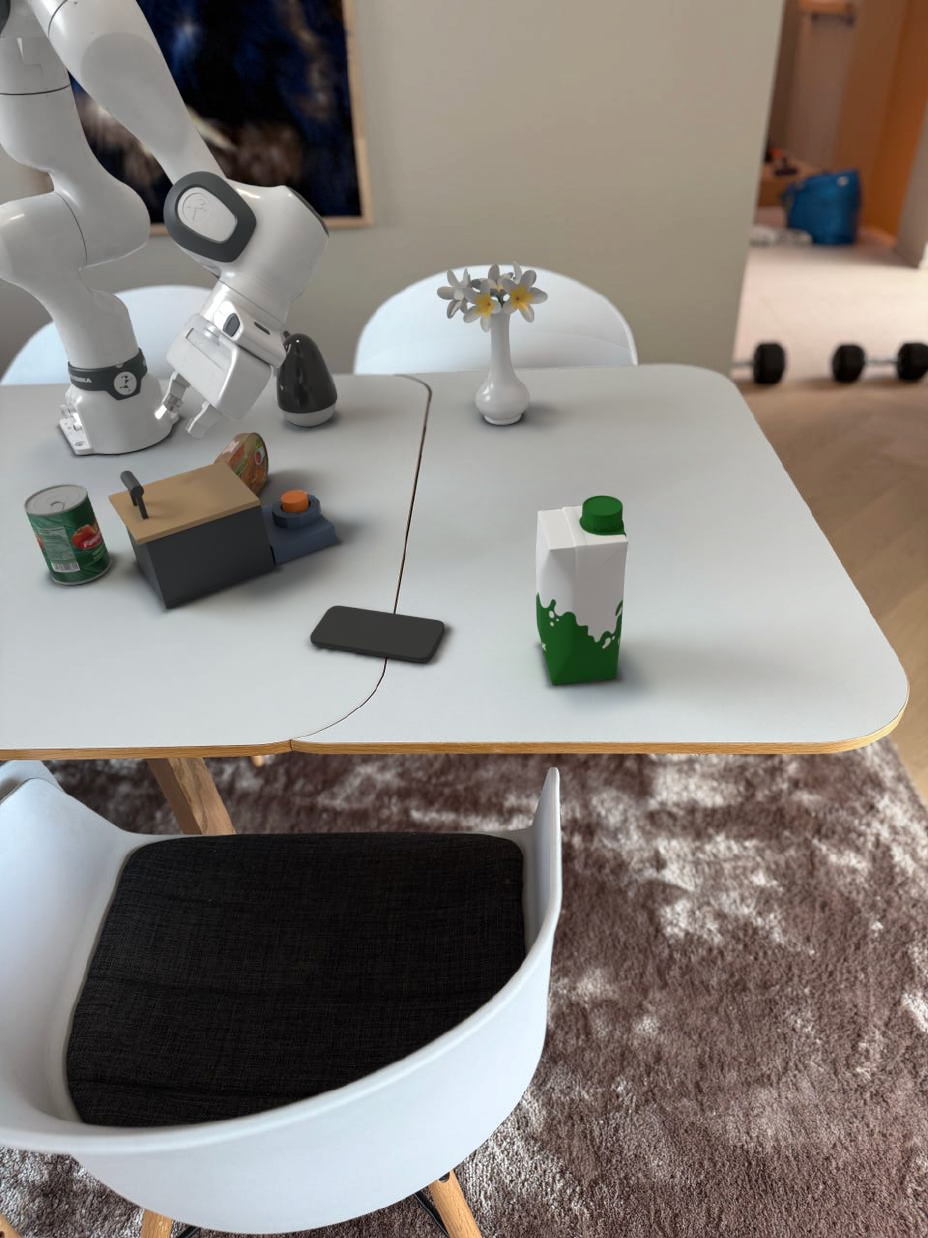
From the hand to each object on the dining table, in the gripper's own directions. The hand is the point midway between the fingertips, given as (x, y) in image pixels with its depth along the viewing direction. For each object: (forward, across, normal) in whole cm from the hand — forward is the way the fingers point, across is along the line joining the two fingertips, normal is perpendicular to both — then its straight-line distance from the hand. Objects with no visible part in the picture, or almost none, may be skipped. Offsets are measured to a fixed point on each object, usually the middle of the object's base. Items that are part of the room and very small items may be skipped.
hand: (179, 421), depth 111 cm
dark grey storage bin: (+16, 0, +13) cm, 21 cm away
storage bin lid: (+9, 0, +6) cm, 11 cm away
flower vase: (-24, -14, +53) cm, 60 cm away
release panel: (+7, 0, +22) cm, 23 cm away
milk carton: (-4, +45, +33) cm, 56 cm away
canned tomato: (+26, -10, +4) cm, 28 cm away
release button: (+3, 0, +20) cm, 21 cm away
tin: (+8, -15, +22) cm, 28 cm away
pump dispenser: (-6, -34, +35) cm, 49 cm away
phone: (+7, +28, +22) cm, 36 cm away
